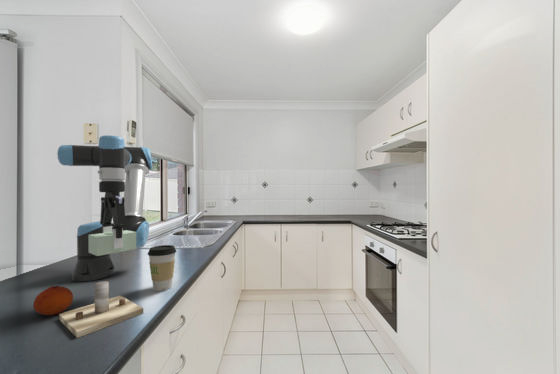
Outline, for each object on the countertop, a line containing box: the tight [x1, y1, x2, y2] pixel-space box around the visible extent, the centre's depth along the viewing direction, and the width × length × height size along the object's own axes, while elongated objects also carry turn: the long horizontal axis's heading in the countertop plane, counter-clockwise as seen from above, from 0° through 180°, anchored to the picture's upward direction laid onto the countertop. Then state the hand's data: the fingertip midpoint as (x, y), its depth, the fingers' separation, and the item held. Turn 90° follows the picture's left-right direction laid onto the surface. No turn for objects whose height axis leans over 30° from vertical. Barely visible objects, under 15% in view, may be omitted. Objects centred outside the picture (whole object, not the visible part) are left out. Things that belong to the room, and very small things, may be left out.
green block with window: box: [89, 230, 137, 256], centre depth 91 cm, size 12×8×6 cm, turn 142°
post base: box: [58, 280, 144, 339], centre depth 76 cm, size 16×16×10 cm
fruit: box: [33, 285, 74, 316], centre depth 79 cm, size 9×9×8 cm
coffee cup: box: [147, 244, 177, 292], centre depth 98 cm, size 10×10×15 cm
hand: (112, 246), depth 91 cm, fingers closed on green block with window, 8 cm apart
